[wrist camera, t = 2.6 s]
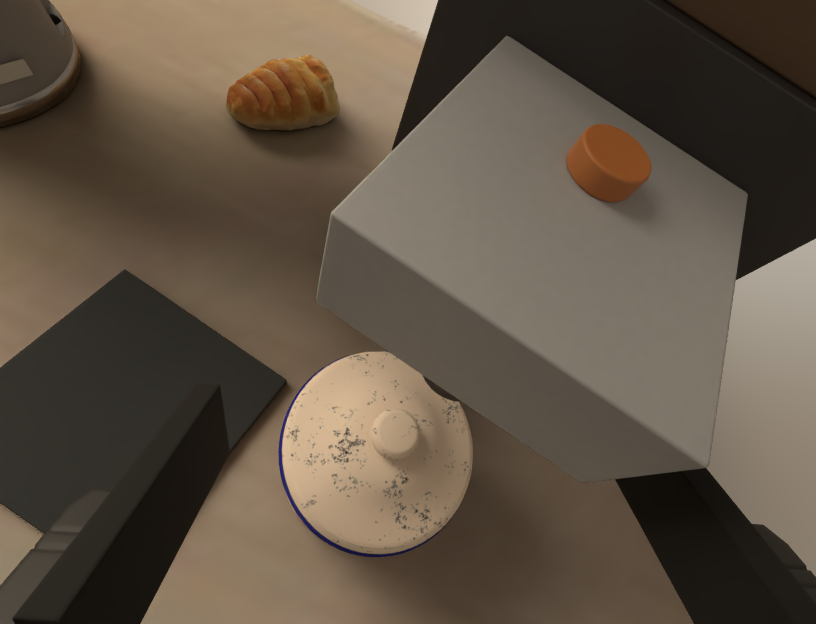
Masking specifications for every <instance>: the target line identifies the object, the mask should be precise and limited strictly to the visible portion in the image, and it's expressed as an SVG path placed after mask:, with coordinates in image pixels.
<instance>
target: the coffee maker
mask: <svg viewBox="0 0 816 624" xmlns="http://www.w3.org/2000/svg"><path fill="white" fill-rule="evenodd" d="M814 239H816V0H438V3H437V6H436V9H435V13H434V16H433V19H432V22H431V26H430V29H429V32H428V35H427V38H426V41H425V45H424V48H423V51H422V54H421V58H420V61H419V64H418V67H417V70H416V74H415V77H414V80H413V83H412V87H411V90H410V93H409V96H408V99H407V103H406V106H405V109H404V112H403V115H402V119H401V122H400V125H399V128H398V132H397V135H396V138H395V141H394V144H393V148H392V151H391V153H390V154H389V155H388V156H387V157H386V158H385V159H384V160H383V161H382V162H381V163H380V164H379V165H378V166H377V167H376V168H375V169H374V170H373V171H372V172H371V173H370V174H369V175H368V176H367V177H366V178H365V179H364V180H363V181H362V182H361V183H360V184H359V185H358V186H357V187H356V188H355V189H354V190H353V191H352V192H351V193H350V194H349V195H348V196H347V197H346V198H345V199H344V200H343V201H342V202H341V203H340V204H339V205H338V206H337V207H336V208H335V209H334V210H333V211H332V212H331V215H330V220H329V226H328V232H327V237H326V243H325V249H324V254H323V260H322V266H321V271H320V277H319V283H318V288H317V294H316V300H315V301H316V303H317V304H319V305H320V306H322V307H323V308H325V309H326V310H328V311H329V312H331V313H332V314H334V315H335V316H337V317H338V318H339V319H341V320H342V321H344V322H345V323H347V324H348V325H350V326H351V327H353V328H354V329H356V330H357V331H359V332H360V333H362V334H363V335H365V336H366V337H367V338H369V339H370V340H372V341H373V342H375V343H376V344H378V345H379V346H381V347H382V348H384V349H385V350H387V351H388V352H390V353H391V354H392V355H394V356H395V357H397V358H398V359H400V360H401V361H403V362H404V363H406V364H407V365H409V366H410V367H412V368H413V369H415V370H416V371H417V372H419V373H420V374H422V375H423V377H424V380H425V381H426V383H427V384H428V385H429V387H430V388H431V389H432V390H433V391H434V392H435V393H437V394H438V395H440V396H441V397H443V398H445V399H448V400H451V401H460V402H463V403H465V404H466V405H468V406H469V407H470V408H472V409H473V410H475V411H476V412H478V413H479V414H481V415H482V416H484V417H485V418H487V419H488V420H490V421H491V422H493V423H494V424H495V425H497V426H498V427H500V428H501V429H503V430H504V431H506V432H507V433H509V434H510V435H512V436H513V437H515V438H516V439H518V440H519V441H521V442H522V443H523V444H525V445H526V446H528V447H529V448H531V449H532V450H534V451H535V452H537V453H538V454H540V455H541V456H543V457H544V458H546V459H547V460H548V461H550V462H551V463H553V464H554V465H556V466H557V467H559V468H560V469H562V470H563V471H565V472H566V473H568V474H569V475H571V476H572V477H573V478H575V479H576V480H578V481H579V482H581V483H588V482H596V481H604V480H612V479H621V478H629V477H637V476H645V475H653V474H661V473H669V472H678V471H686V470H694V469H702V468H706V467H708V465H709V462H710V454H711V447H712V441H713V434H714V427H715V420H716V413H717V406H718V399H719V392H720V385H721V378H722V371H723V364H724V357H725V350H726V343H727V337H728V330H729V323H730V316H731V309H732V302H733V294H734V288H735V281H736V280H737V279H739V278H741V277H743V276H745V275H747V274H749V273H751V272H753V271H755V270H756V269H758V268H760V267H762V266H764V265H766V264H768V263H770V262H772V261H774V260H775V259H777V258H779V257H781V256H783V255H785V254H787V253H789V252H791V251H793V250H795V249H796V248H798V247H800V246H802V245H804V244H806V243H808V242H810V241H812V240H814Z"/></svg>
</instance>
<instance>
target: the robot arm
mask: <svg viewBox="0 0 816 624" xmlns="http://www.w3.org/2000/svg"><path fill="white" fill-rule="evenodd" d="M80 69H81V58H80V54H79V50H78V48H77V46H76V43H75V41H74V38H73V36H72V34H71V31H70V29H69V27H68V26H67V24H66V23H65V21H64V20H63V18H62V16H61V15H60V13H59V12H58V11H57V9H56V8H55V7H54V6H53V4H52V3H51V2H50V1H49V0H0V127H1V126H6V125H9V124H13V123H17V122H20V121H23V120H25V119H28V118H31V117H33V116H35V115H38V114H40V113H42V112H44V111H45V110H47V109H49V108H51V107H52V106H54V105H55V104H57V103H58V102H59V101H60V100H62V99H63V98H64V97H65V96H66V95H67V94H68V93H69V92H70V90H71V89H72V88H73V87H74V85H75V83H76V82H77V79H78V77H79V74H80ZM229 453H230V447H229V440H228V434H227V427H226V420H225V414H224V407H223V400H222V394H221V387H220V385H218V384H203V383H195V384H194V385H193V386H192V388H191V389H190V390H189V392H188V393H187V394H186V395H185V397H184V398H183V399H182V401H181V402H180V403H179V404H178V406H177V407H176V408H175V410H174V411H173V412H172V413H171V415H170V416H169V417H168V419H167V420H166V421H165V422H164V424H163V425H162V426H161V428H160V429H159V430H158V431H157V433H156V434H155V435H154V437H153V438H152V439H151V440H150V442H149V443H148V444H147V446H146V447H145V448H144V449H143V451H142V452H141V453H140V455H139V456H138V457H137V458H136V460H135V461H134V462H133V464H132V465H131V466H130V467H129V469H128V470H127V471H126V473H125V474H124V475H123V476H122V478H121V479H120V480H119V482H118V483H117V484H116V485H115V487H114V488H113V489H99V488H92V489H91V490H90V491H88V492H87V493H85V494H84V495H83V496H81V497H80V498H79V499H77V500H76V501H74V502H73V503H72V504H70V505H69V506H68V507H67V508H66V509H65V511H64V512H63V513H62V514H61V515H60V516H59V518H58V519H57V520H56V521H55V522H54V523H53V525H52V526H51V528H50V531H47V532H46V533H45V534H44V535H43V536H42V538H41V539H40V540H39V541H38V542H37V543H36V545H35V548H34V549H31V550H30V552H29V553H28V554H27V555H26V556H25V557H24V559H23V560H22V561H21V562H20V563H19V564H18V566H17V567H16V568H15V569H14V570H13V571H12V573H11V574H10V575H9V576H8V577H7V578H6V580H5V581H4V582H3V583H2V584H1V585H0V624H140V623H141V621H142V619H143V617H144V615H145V614H146V612H147V610H148V608H149V606H150V604H151V602H152V600H153V598H154V596H155V594H156V593H157V591H158V589H159V587H160V585H161V583H162V581H163V579H164V577H165V575H166V573H167V571H168V570H169V568H170V566H171V564H172V562H173V560H174V558H175V556H176V554H177V552H178V550H179V548H180V547H181V545H182V543H183V541H184V539H185V537H186V535H187V533H188V531H189V529H190V527H191V525H192V524H193V522H194V520H195V518H196V516H197V514H198V512H199V510H200V508H201V506H202V504H203V502H204V501H205V499H206V497H207V495H208V493H209V491H210V489H211V487H212V485H213V483H214V481H215V479H216V478H217V476H218V474H219V472H220V470H221V468H222V466H223V464H224V462H225V460H226V458H227V457H228V455H229ZM615 480H616V482H617V484H618V486H619V487H620V489H621V491H622V493H623V495H624V497H625V498H626V500H627V502H628V504H629V506H630V508H631V509H632V511H633V513H634V515H635V517H636V519H637V520H638V522H639V524H640V526H641V528H642V529H643V531H644V533H645V535H646V537H647V539H648V540H649V542H650V544H651V546H652V548H653V550H654V551H655V553H656V555H657V557H658V559H659V561H660V562H661V564H662V566H663V568H664V570H665V571H666V573H667V575H668V577H669V579H670V581H671V582H672V584H673V586H674V588H675V590H676V592H677V593H678V595H679V597H680V599H681V601H682V603H683V604H684V606H685V608H686V610H687V612H688V613H689V615H690V617H691V619H692V621H693V623H694V624H816V577H815V576H814V575H813V573H812V572H811V571H808V570H807V569H806V565H805V564H804V563H803V562H802V561H801V559H799V557H798V556H797V555H796V554H795V553H794V551H793V550H792V549H791V548H790V547H789V545H788V544H787V543H785V542H784V541H783V540H781V539H780V538H779V537H778V536H777V535H775V534H774V533H773V532H771V531H770V530H769V529H768V528H767V527H765V526H764V525H758V524H751V523H750V521H749V520H748V519H747V518H746V517H745V515H744V514H743V513H742V512H741V510H740V509H739V508H738V507H737V505H736V504H735V503H734V502H733V501H732V499H731V498H730V497H729V496H728V494H727V493H726V492H725V491H724V490H723V488H722V487H721V486H720V485H719V483H718V482H717V481H716V480H715V479H714V477H713V476H712V475H711V474H710V472H709V471H708V470H707V469H706V468H702V469H694V470H686V471H678V472H669V473H661V474H653V475H645V476H637V477H629V478H621V479H615Z"/></svg>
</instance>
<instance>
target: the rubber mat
mask: <svg viewBox="0 0 816 624" xmlns="http://www.w3.org/2000/svg"><path fill="white" fill-rule="evenodd" d="M286 382H287V380H286V379H284V378H283V377H281V376H280V375H278V374H277V373H276V372H274V371H273V370H271V369H270V368H268V367H267V366H265V365H264V364H262V363H261V362H259V361H258V360H257V359H255V358H254V357H252V356H251V355H249V354H248V353H246V352H245V351H243V350H242V349H240V348H239V347H238V346H236V345H235V344H233V343H232V342H230V341H229V340H227V339H226V338H224V337H223V336H221V335H220V334H219V333H217V332H216V331H214V330H213V329H211V328H210V327H208V326H207V325H205V324H204V323H203V322H201V321H200V320H198V319H197V318H195V317H194V316H192V315H191V314H189V313H188V312H186V311H185V310H184V309H182V308H181V307H179V306H178V305H176V304H175V303H173V302H172V301H170V300H169V299H167V298H166V297H165V296H163V295H162V294H160V293H159V292H157V291H156V290H154V289H153V288H151V287H150V286H148V285H147V284H146V283H144V282H143V281H141V280H140V279H138V278H137V277H135V276H134V275H132V274H131V273H130V272H128V271H127V270H123V271H122V272H121V273H120V274H118V275H117V276H116V277H115V278H113V279H112V280H111V281H109V282H108V283H107V284H106V285H104V286H103V287H102V288H101V289H99V290H98V291H97V292H96V293H94V294H93V295H92V296H90V297H89V298H88V299H87V300H85V301H84V302H83V303H82V304H80V305H79V306H78V307H77V308H75V309H74V310H73V311H72V312H70V313H69V314H68V315H66V316H65V317H64V318H63V319H61V320H60V321H59V322H58V323H56V324H55V325H54V326H53V327H51V328H50V329H49V330H47V331H46V332H45V333H44V334H42V335H41V336H40V337H39V338H37V339H36V340H35V341H34V342H32V343H31V344H30V345H28V346H27V347H26V348H25V349H23V350H22V351H21V352H20V353H18V354H17V355H16V356H15V357H13V358H12V359H11V360H9V361H8V362H7V363H6V364H4V365H3V366H2V367H1V368H0V503H1V504H3V505H4V506H6V507H7V508H8V509H10V510H11V511H13V512H14V513H16V514H17V515H18V516H20V517H21V518H23V519H24V520H25V521H27V522H28V523H30V524H31V525H33V526H34V527H35V528H37V529H38V530H40V531H41V532H43V533H44V534H45V533H46V532H47V531H50V528H51V526H52V525H53V523H54V522H55V521H56V520H57V519H58V518H59V516H60V515H61V514H62V513H63V512H64V511H65V509H66V508H67V507H68V506H69V505H70V504H72V503H73V502H74V501H76V500H77V499H79V498H80V497H81V496H83V495H84V494H85V493H87V492H88V491H90V490H91V489H92V488H99V489H113V488H114V487H115V485H116V484H117V483H118V482H119V480H120V479H121V478H122V476H123V475H124V474H125V473H126V471H127V470H128V469H129V467H130V466H131V465H132V464H133V462H134V461H135V460H136V458H137V457H138V456H139V455H140V453H141V452H142V451H143V449H144V448H145V447H146V446H147V444H148V443H149V442H150V440H151V439H152V438H153V437H154V435H155V434H156V433H157V431H158V430H159V429H160V428H161V426H162V425H163V424H164V422H165V421H166V420H167V419H168V417H169V416H170V415H171V413H172V412H173V411H174V410H175V408H176V407H177V406H178V404H179V403H180V402H181V401H182V399H183V398H184V397H185V395H186V394H187V393H188V392H189V390H190V389H191V388H192V386H193V385H194V384H195V383H203V384H218V385H220V387H221V394H222V400H223V407H224V414H225V420H226V427H227V434H228V440H229V447H230V453H231V451H232V450H233V449H234V448H235V446H236V445H237V444H238V443H239V442H240V440H241V439H242V438H243V437H244V435H245V434H246V433H247V432H248V430H249V429H250V428H251V427H252V425H253V424H254V423H255V422H256V420H257V419H258V418H259V417H260V415H261V414H262V413H263V412H264V410H265V409H266V408H267V407H268V405H269V404H270V403H271V402H272V400H273V399H274V398H275V397H276V395H277V394H278V393H279V392H280V390H281V389H282V388H283V387H284V385H285V384H286ZM230 453H229V454H230Z"/></svg>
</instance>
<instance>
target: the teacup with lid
mask: <svg viewBox="0 0 816 624" xmlns="http://www.w3.org/2000/svg"><path fill="white" fill-rule="evenodd" d="M472 463H473V445H472V437H471V432H470V427H469V424H468V420H467V417H466V415H465V412H464V410H463V408H462V406H461V404H460V402H459V401H451V400H448V399H445V398H443V397H441V396H440V395H438V394H437V393H435V392H434V391H433V390H432V389H431V388H430V387H429V385H428V384H427V383H426V381H425V380H424V377H423V375H422V374H420V373H419V372H417V371H416V370H415V369H413V368H412V367H410V366H409V365H407V364H406V363H404V362H403V361H401V360H400V359H398V358H397V357H395V356H394V355H392V354H391V353H389V352H363V353H357V354H353V355H349V356H346V357H343V358H341V359H338V360H336V361H334V362H332V363H330V364H328V365H327V366H325V367H323V368H322V369H321V370H319V371H318V372H317V373H315V374H314V375H313V376H312V377H311V378H310V379H309V380H308V381H307V382H306V383H305V384H304V385H303V387H302V388H301V389H300V391H299V392H298V393H297V395H296V396H295V398H294V400H293V401H292V403H291V405H290V407H289V409H288V411H287V414H286V416H285V419H284V422H283V426H282V430H281V435H280V441H279V466H280V473H281V478H282V482H283V486H284V489H285V493H286V496H287V499H288V502H289V504H290V506H291V508H292V509H293V511H294V513H295V514H296V515H297V517H298V518H299V519H300V520H301V521H302V522H303V523H304V525H306V526H307V527H308V528H309V529H310V530H311V531H312V532H313V533H314V534H315V535H317V536H318V537H319V538H320V539H322V540H323V541H325V542H326V543H328V544H329V545H331V546H333V547H335V548H337V549H339V550H342V551H345V552H347V553H350V554H355V555H359V556H366V557H386V556H393V555H398V554H402V553H405V552H407V551H410V550H413V549H415V548H417V547H419V546H421V545H422V544H424V543H426V542H427V541H429V540H430V539H431V538H433V537H434V536H435V535H437V534H438V533H439V532H440V531H441V530H442V529H443V528H444V527H445V526H446V525H447V523H448V522H449V521H450V520H451V518H452V517H453V516H454V514H455V513H456V511H457V509H458V508H459V506H460V504H461V502H462V500H463V497H464V495H465V493H466V490H467V487H468V484H469V480H470V476H471V471H472Z"/></svg>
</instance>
